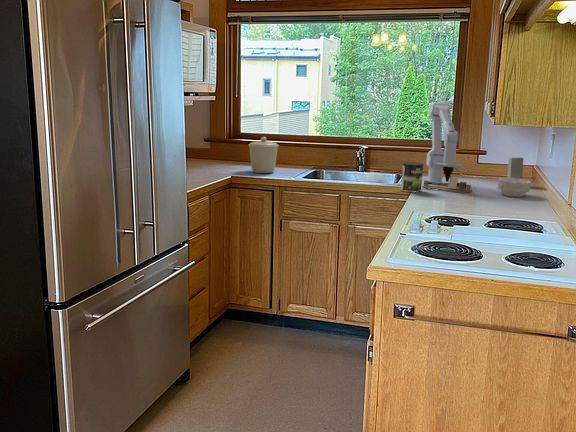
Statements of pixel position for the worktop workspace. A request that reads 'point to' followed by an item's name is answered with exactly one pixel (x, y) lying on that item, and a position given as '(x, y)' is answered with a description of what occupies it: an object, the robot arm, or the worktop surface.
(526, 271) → the worktop surface
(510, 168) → the skincare box
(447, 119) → the robot arm
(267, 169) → the canister
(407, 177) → the coffee can
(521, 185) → the paper bowls
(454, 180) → the marker sleeve
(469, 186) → the cable cradle
